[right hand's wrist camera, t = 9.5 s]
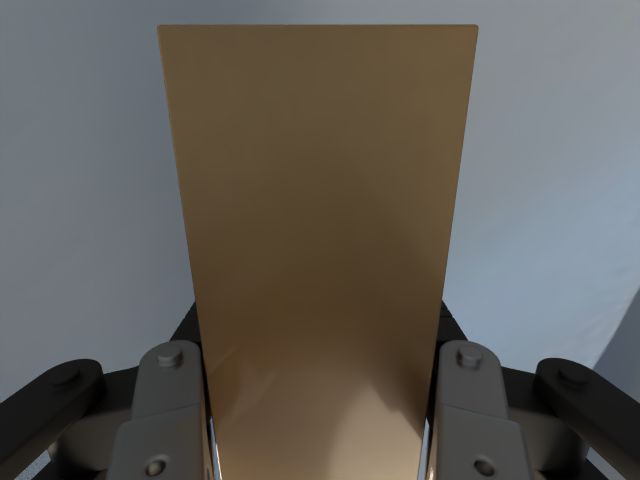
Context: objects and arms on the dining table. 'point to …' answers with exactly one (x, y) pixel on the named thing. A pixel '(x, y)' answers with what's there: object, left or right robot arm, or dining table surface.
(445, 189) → the bar
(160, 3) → the dining table surface
